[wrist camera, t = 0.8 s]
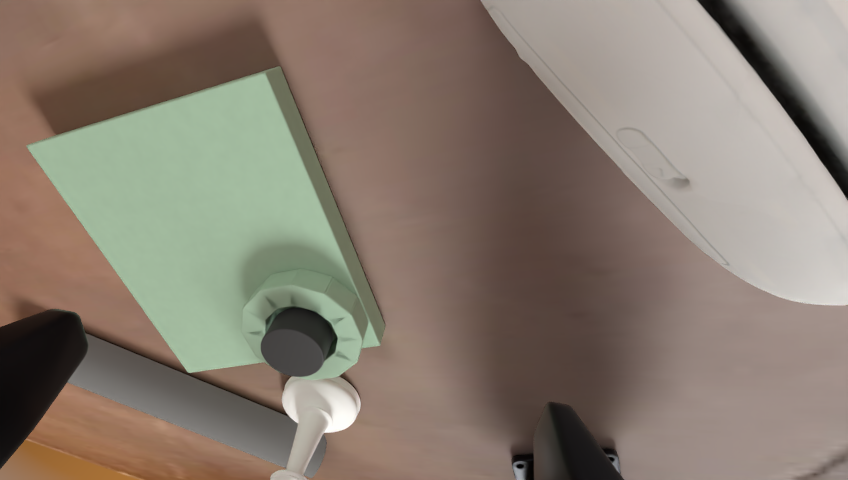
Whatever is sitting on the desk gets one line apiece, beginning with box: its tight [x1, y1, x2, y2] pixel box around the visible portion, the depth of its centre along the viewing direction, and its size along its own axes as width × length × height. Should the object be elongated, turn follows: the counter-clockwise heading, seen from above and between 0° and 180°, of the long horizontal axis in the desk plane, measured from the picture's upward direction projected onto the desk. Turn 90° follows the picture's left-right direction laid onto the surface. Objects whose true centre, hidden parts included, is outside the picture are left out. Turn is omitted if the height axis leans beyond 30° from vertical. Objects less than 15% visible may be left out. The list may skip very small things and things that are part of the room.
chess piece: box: [270, 376, 361, 480], centre depth 23 cm, size 5×5×10 cm
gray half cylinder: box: [68, 333, 327, 478], centre depth 28 cm, size 4×20×2 cm, turn 63°
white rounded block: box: [480, 0, 848, 305], centre depth 11 cm, size 10×4×12 cm, turn 48°
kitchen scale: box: [27, 66, 385, 380], centre depth 21 cm, size 14×12×3 cm
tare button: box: [261, 308, 333, 377], centre depth 21 cm, size 3×3×2 cm
